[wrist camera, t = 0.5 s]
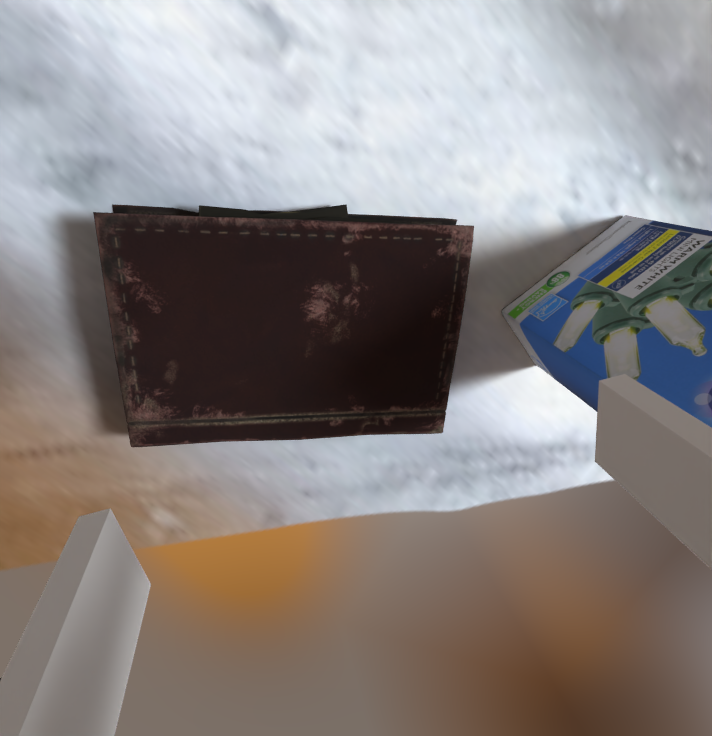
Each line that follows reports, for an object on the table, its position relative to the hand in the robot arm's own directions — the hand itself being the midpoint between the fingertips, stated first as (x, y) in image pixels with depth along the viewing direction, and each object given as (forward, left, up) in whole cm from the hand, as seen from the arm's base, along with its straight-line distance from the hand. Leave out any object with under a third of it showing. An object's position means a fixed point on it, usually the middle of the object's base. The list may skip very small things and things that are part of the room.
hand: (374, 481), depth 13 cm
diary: (+4, -1, -28) cm, 28 cm away
